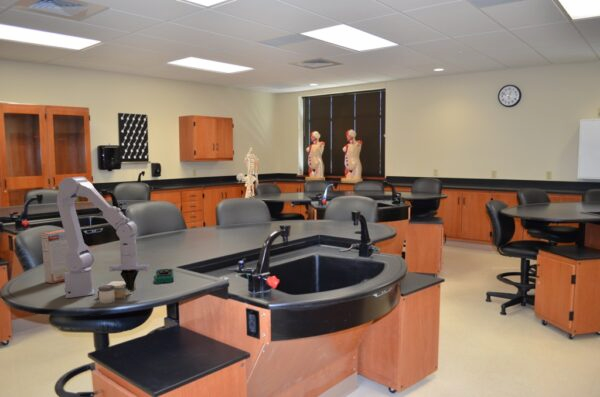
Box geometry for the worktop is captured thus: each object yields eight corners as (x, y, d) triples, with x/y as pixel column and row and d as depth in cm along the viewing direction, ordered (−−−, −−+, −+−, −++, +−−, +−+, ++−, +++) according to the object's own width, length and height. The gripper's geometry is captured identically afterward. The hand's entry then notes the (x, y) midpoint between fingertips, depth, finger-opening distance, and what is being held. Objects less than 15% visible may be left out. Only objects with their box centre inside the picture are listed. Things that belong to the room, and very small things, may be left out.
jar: (99, 304, 162) (98, 290, 162) (99, 300, 167) (98, 286, 166) (115, 302, 164) (114, 287, 164) (114, 298, 169) (113, 284, 169)
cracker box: (75, 274, 205) (72, 227, 203) (83, 276, 202) (80, 228, 200) (44, 282, 194) (40, 232, 192) (52, 284, 190) (48, 233, 188)
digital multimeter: (173, 274, 204) (173, 267, 204) (173, 283, 190) (173, 275, 189) (156, 275, 202) (155, 269, 202) (155, 284, 188) (154, 277, 187)
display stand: (98, 298, 170) (97, 291, 169) (111, 289, 181) (110, 283, 180) (124, 297, 169) (123, 291, 169) (135, 289, 180) (135, 282, 180)
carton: (105, 296, 172) (104, 286, 172) (113, 291, 179) (112, 281, 178) (123, 296, 172) (123, 285, 171) (131, 291, 178) (130, 281, 178)
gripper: (151, 251, 177) (153, 286, 178) (114, 252, 178) (116, 286, 179) (144, 255, 170) (146, 291, 171) (105, 256, 171) (108, 292, 172)
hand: (130, 289), depth 175 cm, fingers closed
